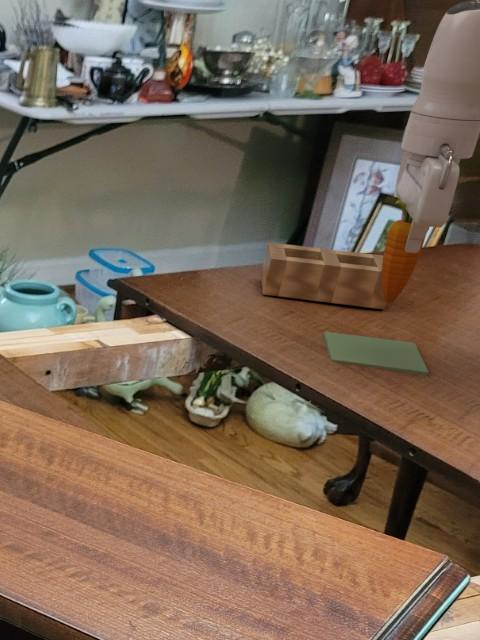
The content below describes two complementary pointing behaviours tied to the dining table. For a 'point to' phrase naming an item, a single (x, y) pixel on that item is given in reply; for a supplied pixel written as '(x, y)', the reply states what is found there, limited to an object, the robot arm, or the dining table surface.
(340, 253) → the rack
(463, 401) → the dining table surface
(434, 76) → the robot arm
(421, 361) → the mat
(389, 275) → the carrot
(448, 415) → the dining table surface
